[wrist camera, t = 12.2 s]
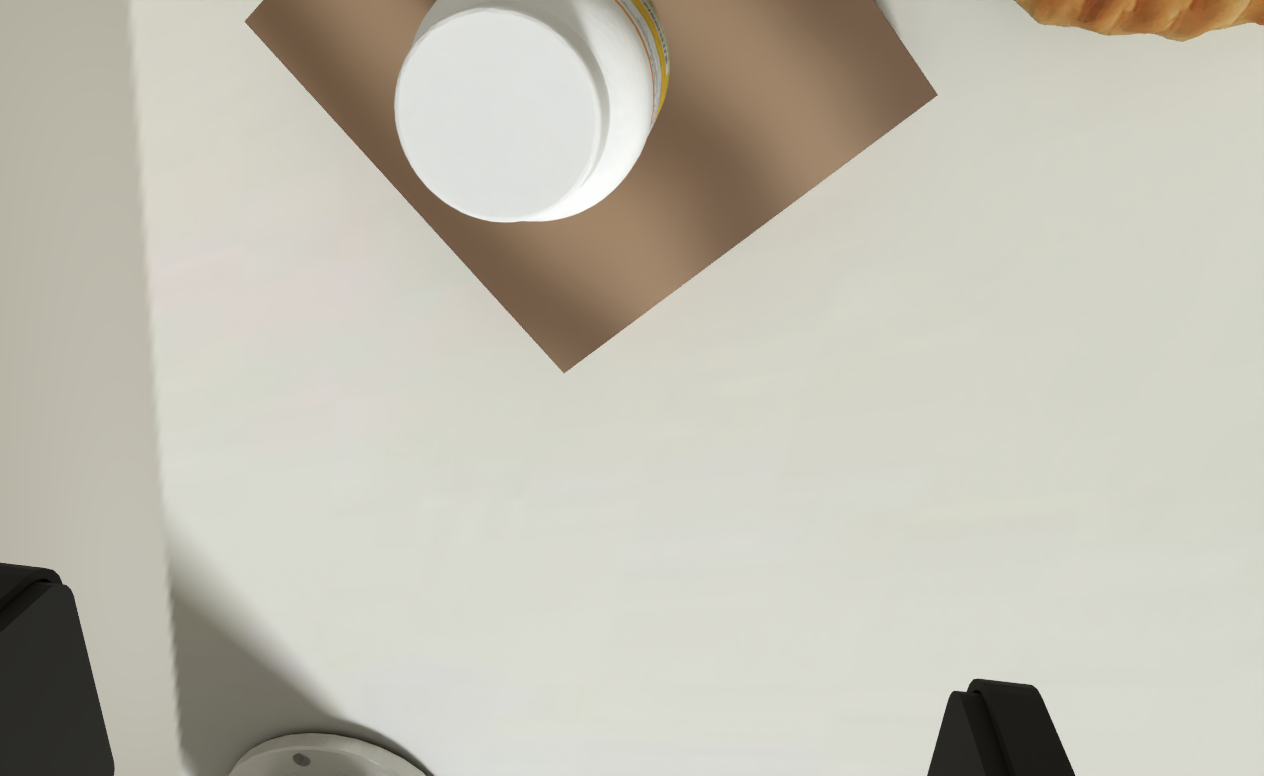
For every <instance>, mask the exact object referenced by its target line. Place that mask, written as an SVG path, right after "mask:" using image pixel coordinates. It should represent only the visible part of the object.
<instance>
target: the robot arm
mask: <svg viewBox="0 0 1264 776" xmlns="http://www.w3.org/2000/svg"><path fill="white" fill-rule="evenodd" d="M0 776H114V761H113V756H112V752H111V748H110V744H109V740H108V736H107V732H106V728H105V724H104V719H103V715H102V711H101V707H100V703H99V699H98V694H97V690H96V687H95V682H94V678H93V674H92V670H91V666H90V662H89V658H88V653H87V649H86V645H85V641H84V637H83V632H82V628H81V624H80V620H79V616H78V612H77V608H76V604H75V599H74V596H73V593H72V591H71V589H70V588H69V587H68V586H67V585H63V584H62V581H61V579H60V577H59V575H58V574H57V573H56V572H55V571H54V570H50V569H47V568H40V567H31V566H22V565H14V564H6V563H0ZM228 776H426V775H425V774H424V773H423V772H422V771H420V770H419V769H418V768H416V767H415V766H413V765H412V764H410V763H409V762H407V761H406V760H405V759H403V758H401V757H399V756H397V755H395V754H393V753H391V752H389V751H387V750H385V749H383V748H381V747H379V746H376V745H373V744H370V743H367V742H364V741H361V740H359V739H354V738H349V737H344V736H339V735H334V734H319V733H305V734H294V735H286V736H282V737H279V738H275V739H271V740H268V741H266V742H264V743H262V744H260V745H258V746H256V747H254V748H252V749H251V750H249V751H248V752H247V753H246V754H245V755H244V756H242V757H241V758H240V759H239V760H238V762H237V763H236V765H235V766H234V768H233V769H232V770H231V772H230V773H229V775H228ZM927 776H1075V774H1074V771H1073V769H1072V767H1071V764H1070V762H1069V760H1068V757H1067V755H1066V753H1065V750H1064V748H1063V746H1062V743H1061V741H1060V739H1059V736H1058V734H1057V732H1056V729H1055V727H1054V725H1053V722H1052V720H1051V718H1050V715H1049V713H1048V711H1047V708H1046V706H1045V704H1044V701H1043V699H1042V697H1041V695H1040V693H1039V691H1038V690H1037V689H1036V688H1035V687H1034V686H1032V685H1027V684H1019V683H1010V682H1002V681H993V680H985V679H974V680H973V681H972V682H971V683H970V685H969V687H968V690H967V692H960V691H953V692H952V693H951V695H950V697H949V700H948V703H947V706H946V710H945V713H944V717H943V721H942V724H941V728H940V732H939V735H938V739H937V742H936V746H935V750H934V753H933V757H932V760H931V764H930V768H929V771H928V775H927Z"/></svg>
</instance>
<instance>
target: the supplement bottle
mask: <svg viewBox="0 0 1264 776" xmlns="http://www.w3.org/2000/svg"><path fill="white" fill-rule="evenodd" d="M669 75H670V60H669V49H668V44H667V39H666V35H665V32H664V29H663V26H662V24H661V22H660V19H659V17H658V15H657V13H656V12H655V10H654V8H653V7H652V5H651V4H650V2H649V1H648V0H437V1H436V2H435V3H434V5H433V6H432V7H431V9H430V10H429V11H428V12H427V14H426V16H425V17H424V19H423V20H422V22H421V24H420V26H419V28H418V30H417V33H416V35H415V37H414V40H413V43H412V46H411V49H410V50H409V52H408V54H407V55H406V57H405V59H404V62H403V64H402V66H401V69H400V72H399V75H398V79H397V84H396V88H395V100H394V111H395V122H396V128H397V132H398V136H399V140H400V143H401V145H402V148H403V150H404V153H405V155H406V157H407V159H408V161H409V163H410V165H411V167H412V168H413V170H414V171H415V173H416V174H417V175H418V177H419V178H420V179H421V180H422V182H423V183H424V184H425V185H426V186H427V188H428V189H429V190H430V191H431V192H433V193H434V194H435V195H436V196H437V197H438V198H440V199H441V200H442V201H444V202H445V203H446V204H448V205H450V206H451V207H453V208H455V209H457V210H458V211H460V212H462V213H464V214H467V215H469V216H472V217H475V218H478V219H482V220H487V221H491V222H519V221H529V222H530V221H551V220H557V219H562V218H566V217H569V216H573V215H575V214H578V213H580V212H582V211H584V210H586V209H588V208H590V207H592V206H594V205H596V204H597V203H598V202H600V201H601V200H603V199H604V198H605V197H606V196H608V195H609V194H610V193H611V192H612V191H613V190H615V189H616V187H617V186H618V185H619V184H620V183H621V182H622V181H623V180H624V178H625V177H626V176H627V174H628V173H629V171H630V170H631V169H632V167H633V166H634V164H635V162H636V161H637V159H638V158H639V156H640V154H641V152H642V150H643V147H644V145H645V142H646V140H647V138H648V135H649V133H650V131H651V129H652V127H653V125H654V123H655V121H656V119H657V117H658V114H659V112H660V110H661V108H662V105H663V102H664V100H665V96H666V93H667V89H668V82H669Z"/></svg>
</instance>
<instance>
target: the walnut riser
mask: <svg viewBox="0 0 1264 776" xmlns="http://www.w3.org/2000/svg"><path fill="white" fill-rule="evenodd" d="M436 1H437V0H263V1H262V2H261V4H260V5H259V6H258V7H257V8H256V9H255V10H254V11H253V13H252V14H251V15H250V16H249V17H248V18H247V19H246V20H245V23H246V24H247V25H248V26H249V27H250V28H251V29H252V30H253V31H254V32H255V34H256V35H257V36H258V37H259V38H260V39H261V40H262V41H263V42H264V43H265V45H266V46H267V47H268V48H269V49H270V50H271V51H272V52H273V53H274V54H275V56H276V57H277V58H278V59H279V60H280V61H281V62H282V63H283V64H284V65H285V67H286V68H287V69H288V70H289V71H290V72H291V73H292V74H293V75H294V76H295V78H296V79H297V80H298V81H299V82H300V83H301V84H302V85H303V86H304V87H305V89H306V90H307V91H308V92H309V93H310V94H311V95H312V96H313V97H314V99H315V100H316V101H317V102H318V103H319V104H320V105H321V106H322V107H323V108H324V110H325V111H326V112H327V113H328V114H329V115H330V116H331V117H332V118H333V119H334V121H335V122H336V123H337V124H338V125H339V126H340V127H341V128H342V129H343V130H344V132H345V133H346V134H347V135H348V136H349V137H350V138H351V139H352V140H353V141H354V143H355V144H356V145H357V146H358V147H359V148H360V149H361V150H362V151H363V152H364V154H365V155H366V156H367V157H368V158H369V159H370V160H371V161H372V162H373V163H374V165H375V166H376V167H377V168H378V169H379V170H380V171H381V172H382V173H383V174H384V176H385V177H386V178H387V179H388V180H389V181H390V182H391V183H392V184H393V186H394V187H395V188H396V189H397V190H398V191H399V192H400V193H401V194H402V195H403V197H404V198H405V199H406V200H407V201H408V202H409V203H410V204H411V205H412V206H413V208H414V209H415V210H416V211H417V212H418V213H419V214H420V215H421V216H422V217H423V219H424V220H425V221H426V222H427V223H428V224H429V225H430V226H431V227H432V228H433V230H434V231H435V232H436V233H437V234H438V235H439V236H440V237H441V238H442V239H443V241H444V242H445V243H446V244H447V245H448V246H449V247H450V248H451V249H452V250H453V252H454V253H455V254H456V255H457V256H458V257H459V258H460V259H461V260H462V261H463V263H464V264H465V265H466V266H467V267H468V268H469V269H470V270H471V271H472V273H473V274H474V275H475V276H476V277H477V278H478V279H479V280H480V281H481V282H482V284H483V285H484V286H485V287H486V288H487V289H488V290H489V291H490V292H491V293H492V295H493V296H494V297H495V298H496V299H497V300H498V301H499V302H500V303H501V304H502V306H503V307H504V308H505V309H506V310H507V311H508V312H509V313H510V314H511V315H512V317H513V318H514V319H515V320H516V321H517V322H518V323H519V324H520V325H521V326H522V328H523V329H524V330H525V331H526V332H527V333H528V334H529V335H530V336H531V337H532V339H533V340H534V341H535V342H536V343H537V344H538V345H539V346H540V347H541V349H542V350H543V351H544V352H545V353H546V354H547V355H548V356H549V357H550V358H551V360H552V361H553V362H554V363H555V364H556V365H557V366H558V367H559V368H560V369H561V371H562V372H563V373H565V372H566V371H568V370H569V369H570V368H572V367H573V366H574V365H576V364H577V363H578V362H580V361H581V360H583V359H584V358H585V357H587V356H588V355H589V354H591V353H592V352H593V351H595V350H596V349H597V348H599V347H600V346H601V345H603V344H604V343H605V342H607V341H608V340H609V339H611V338H612V337H613V336H615V335H616V334H617V333H619V332H620V331H621V330H623V329H624V328H625V327H627V326H628V325H630V324H631V323H632V322H634V321H635V320H636V319H638V318H639V317H640V316H642V315H643V314H644V313H646V312H647V311H648V310H650V309H651V308H652V307H654V306H655V305H656V304H658V303H659V302H660V301H662V300H663V299H664V298H666V297H667V296H668V295H670V294H671V293H672V292H674V291H675V290H677V289H678V288H679V287H681V286H682V285H683V284H685V283H686V282H687V281H689V280H690V279H691V278H693V277H694V276H695V275H697V274H698V273H699V272H701V271H702V270H703V269H705V268H706V267H707V266H709V265H710V264H711V263H713V262H714V261H715V260H717V259H718V258H719V257H721V256H722V255H724V254H725V253H726V252H728V251H729V250H730V249H732V248H733V247H734V246H736V245H737V244H738V243H740V242H741V241H742V240H744V239H745V238H746V237H748V236H749V235H750V234H752V233H753V232H754V231H756V230H757V229H758V228H760V227H761V226H762V225H764V224H765V223H767V222H768V221H769V220H771V219H772V218H773V217H775V216H776V215H777V214H779V213H780V212H781V211H783V210H784V209H785V208H787V207H788V206H789V205H791V204H792V203H793V202H795V201H796V200H797V199H799V198H800V197H801V196H803V195H804V194H805V193H807V192H808V191H809V190H811V189H812V188H814V187H815V186H816V185H818V184H819V183H820V182H822V181H823V180H824V179H826V178H827V177H828V176H830V175H831V174H832V173H834V172H835V171H836V170H838V169H839V168H840V167H842V166H843V165H844V164H846V163H847V162H848V161H850V160H851V159H852V158H854V157H855V156H856V155H858V154H859V153H861V152H862V151H863V150H865V149H866V148H867V147H869V146H870V145H871V144H873V143H874V142H875V141H877V140H878V139H879V138H881V137H882V136H883V135H885V134H886V133H887V132H889V131H890V130H891V129H893V128H894V127H895V126H897V125H898V124H899V123H901V122H902V121H903V120H905V119H906V118H908V117H909V116H910V115H912V114H913V113H914V112H916V111H917V110H918V109H920V108H921V107H922V106H924V105H925V104H926V103H928V102H929V101H930V100H932V99H933V98H934V97H936V96H937V93H936V92H935V90H934V89H933V87H932V86H931V84H930V83H929V81H928V80H927V78H926V77H925V75H924V74H923V72H922V71H921V69H920V68H919V67H918V65H917V64H916V62H915V61H914V59H913V58H912V56H911V55H910V53H909V52H908V50H907V49H906V47H905V46H904V44H903V43H902V41H901V40H900V39H899V37H898V36H897V34H896V33H895V31H894V30H893V28H892V27H891V25H890V24H889V22H888V21H887V19H886V18H885V16H884V15H883V13H882V12H881V10H880V9H879V8H878V6H877V5H876V3H875V2H874V0H648V1H649V2H650V4H651V5H652V7H653V8H654V10H655V12H656V13H657V15H658V17H659V19H660V22H661V24H662V26H663V29H664V32H665V35H666V39H667V44H668V49H669V60H670V75H669V82H668V89H667V93H666V96H665V100H664V102H663V105H662V108H661V110H660V112H659V114H658V117H657V119H656V121H655V123H654V125H653V127H652V129H651V131H650V133H649V135H648V138H647V140H646V142H645V145H644V147H643V150H642V152H641V154H640V156H639V158H638V159H637V161H636V162H635V164H634V166H633V167H632V169H631V170H630V171H629V173H628V174H627V176H626V177H625V178H624V180H623V181H622V182H621V183H620V184H619V185H618V186H617V187H616V189H615V190H613V191H612V192H611V193H610V194H609V195H608V196H606V197H605V198H604V199H603V200H601V201H600V202H598V203H597V204H596V205H594V206H592V207H590V208H588V209H586V210H584V211H582V212H580V213H578V214H575V215H573V216H569V217H566V218H562V219H557V220H551V221H530V222H529V221H519V222H491V221H487V220H482V219H478V218H475V217H472V216H469V215H467V214H464V213H462V212H460V211H458V210H457V209H455V208H453V207H451V206H450V205H448V204H446V203H445V202H444V201H442V200H441V199H440V198H438V197H437V196H436V195H435V194H434V193H433V192H431V191H430V190H429V189H428V188H427V186H426V185H425V184H424V183H423V182H422V180H421V179H420V178H419V177H418V175H417V174H416V173H415V171H414V170H413V168H412V167H411V165H410V163H409V161H408V159H407V157H406V155H405V153H404V150H403V148H402V145H401V143H400V140H399V136H398V132H397V128H396V122H395V111H394V100H395V88H396V84H397V79H398V75H399V72H400V69H401V66H402V64H403V62H404V59H405V57H406V55H407V54H408V52H409V50H410V49H411V46H412V43H413V40H414V37H415V35H416V33H417V30H418V28H419V26H420V24H421V22H422V20H423V19H424V17H425V16H426V14H427V12H428V11H429V10H430V9H431V7H432V6H433V5H434V3H435V2H436Z"/></svg>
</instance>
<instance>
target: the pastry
mask: <svg viewBox="0 0 1264 776" xmlns="http://www.w3.org/2000/svg"><path fill="white" fill-rule="evenodd" d="M1014 1H1016V2H1017V3H1018V4H1019V5H1020V6H1021V7H1022V8H1023V9H1025V10H1026V11H1027V12H1028V13H1029V15H1030V16H1031V17H1033V18H1034V19H1035V20H1036V21H1037V22H1038V23H1040V24H1044V25H1056V26H1063V27H1070V26H1074V27H1079V28H1083V29H1086V30H1090V31H1094V32H1097V33H1099V34H1103V35H1109V36H1110V35H1130V34H1136V33H1143V34H1145V33H1150V34H1156V35H1159V36H1162V37H1164V38H1166V39H1170V40H1176V41H1182V42H1184V41H1186V40H1189V39H1192V38H1194V37H1197V36H1200V35H1202V34H1203V33H1205V32H1208V31H1211V30H1219V29H1225V28H1228V27H1233V26H1237V25H1241V24H1246V23H1257V24H1259V25H1264V0H1014Z"/></svg>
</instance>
